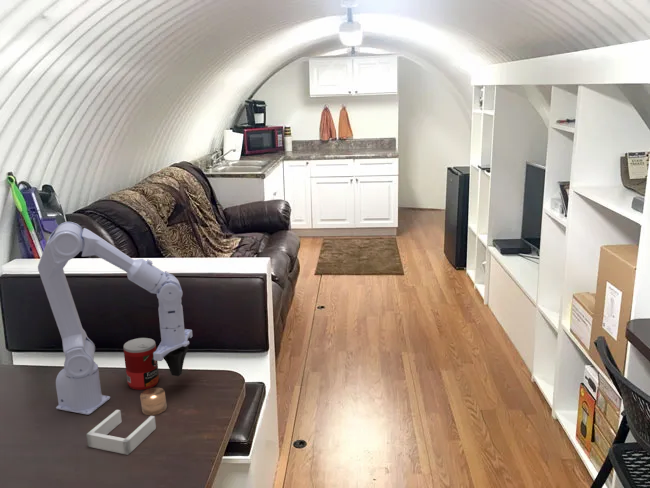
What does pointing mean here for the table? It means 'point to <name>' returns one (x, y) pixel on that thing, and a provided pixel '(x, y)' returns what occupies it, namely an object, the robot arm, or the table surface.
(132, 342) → the canned food
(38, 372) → the table surface
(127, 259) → the robot arm
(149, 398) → the tan short cylinder
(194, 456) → the table surface
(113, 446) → the u-shaped bracket
